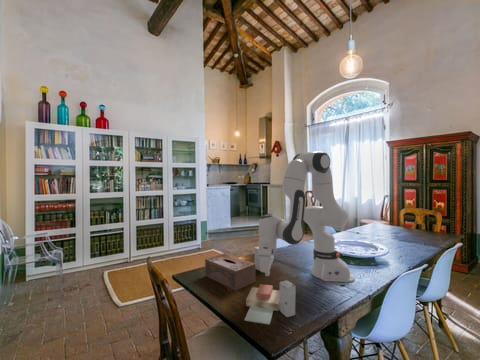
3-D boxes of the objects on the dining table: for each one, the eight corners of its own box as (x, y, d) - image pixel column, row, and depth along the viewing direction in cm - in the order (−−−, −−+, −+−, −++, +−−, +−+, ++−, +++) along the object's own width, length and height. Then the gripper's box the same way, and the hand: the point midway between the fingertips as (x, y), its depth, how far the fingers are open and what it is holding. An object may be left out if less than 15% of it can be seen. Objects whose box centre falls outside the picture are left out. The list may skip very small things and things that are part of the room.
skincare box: (278, 310, 100) (278, 281, 100) (287, 307, 101) (287, 279, 101) (287, 318, 94) (286, 287, 94) (296, 315, 96) (296, 285, 96)
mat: (273, 310, 99) (273, 309, 99) (269, 324, 90) (269, 323, 90) (250, 307, 102) (250, 306, 102) (244, 320, 93) (244, 319, 93)
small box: (260, 271, 140) (260, 250, 140) (254, 268, 146) (254, 247, 146) (271, 268, 145) (270, 247, 145) (264, 265, 150) (264, 245, 150)
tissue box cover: (205, 276, 136) (205, 259, 135) (224, 269, 146) (224, 253, 145) (236, 291, 117) (235, 271, 117) (255, 282, 127) (255, 263, 127)
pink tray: (260, 288, 113) (260, 284, 113) (272, 289, 111) (272, 285, 111) (256, 297, 105) (256, 292, 105) (269, 299, 103) (269, 294, 103)
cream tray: (281, 297, 110) (281, 290, 110) (278, 311, 99) (278, 303, 99) (252, 293, 114) (252, 287, 114) (246, 306, 103) (245, 299, 103)
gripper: (264, 241, 128) (264, 267, 128) (257, 252, 108) (257, 282, 108) (276, 242, 126) (276, 268, 126) (270, 253, 106) (270, 284, 106)
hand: (267, 275), depth 117 cm, fingers closed
